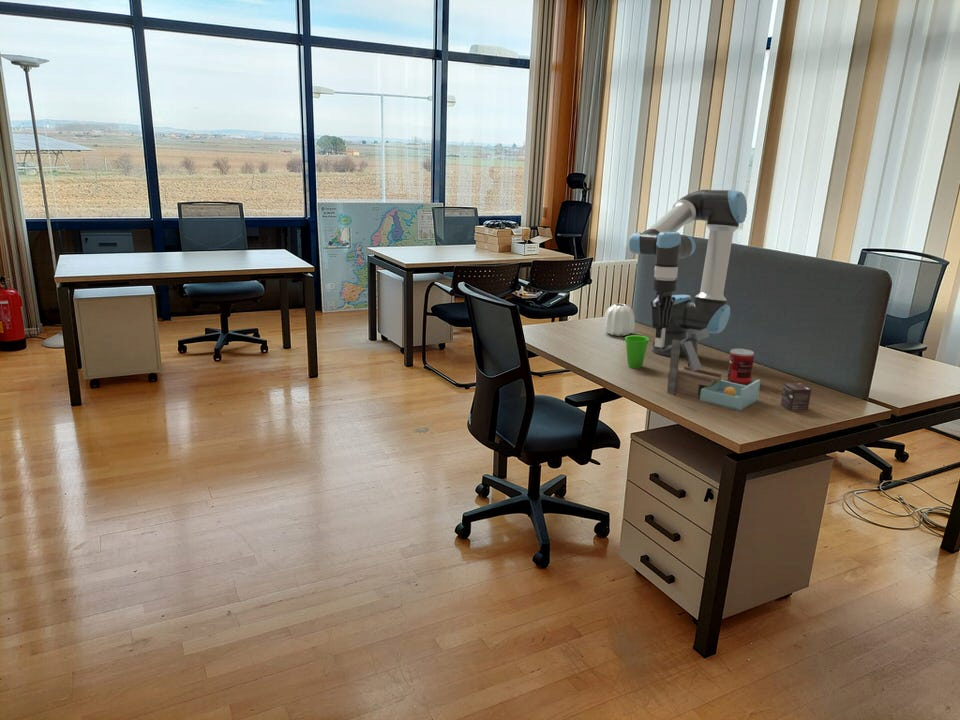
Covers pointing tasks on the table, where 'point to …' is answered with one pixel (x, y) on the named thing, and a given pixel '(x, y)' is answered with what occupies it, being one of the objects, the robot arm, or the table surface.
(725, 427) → the table surface
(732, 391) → the ball
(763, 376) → the table surface
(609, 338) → the table surface
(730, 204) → the robot arm
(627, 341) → the cup
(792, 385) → the box
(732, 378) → the canned food
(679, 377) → the grey angular frame
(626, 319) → the vase
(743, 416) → the table surface
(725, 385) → the light blue tray
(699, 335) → the lever
